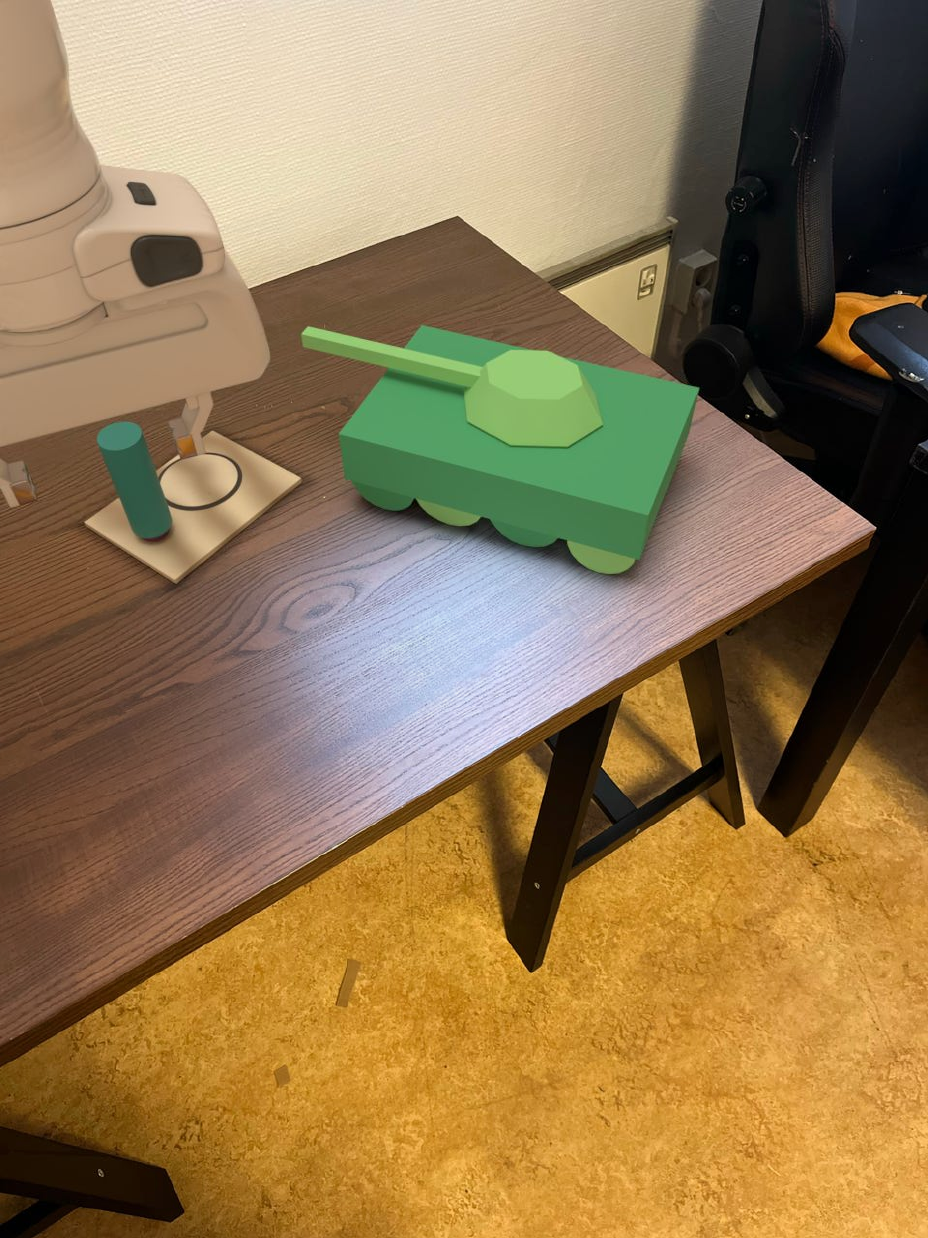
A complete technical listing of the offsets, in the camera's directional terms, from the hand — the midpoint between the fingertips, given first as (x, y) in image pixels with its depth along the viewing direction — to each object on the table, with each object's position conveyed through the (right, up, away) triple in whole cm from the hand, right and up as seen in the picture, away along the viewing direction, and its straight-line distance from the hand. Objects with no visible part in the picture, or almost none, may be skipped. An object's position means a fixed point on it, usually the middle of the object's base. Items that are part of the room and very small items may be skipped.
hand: (109, 473), depth 53 cm
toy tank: (+22, +6, +37) cm, 43 cm away
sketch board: (-5, +2, +34) cm, 35 cm away
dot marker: (-8, 0, +31) cm, 32 cm away
